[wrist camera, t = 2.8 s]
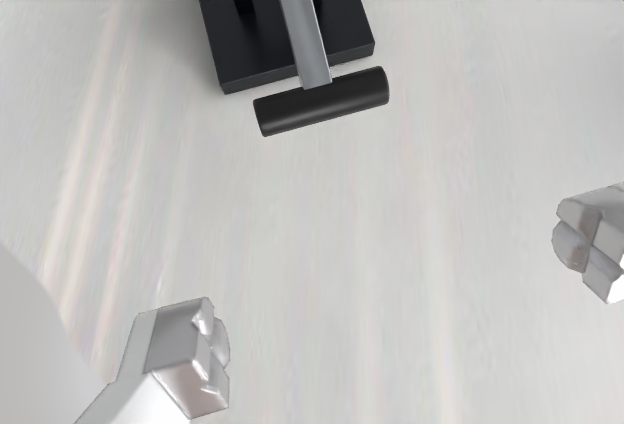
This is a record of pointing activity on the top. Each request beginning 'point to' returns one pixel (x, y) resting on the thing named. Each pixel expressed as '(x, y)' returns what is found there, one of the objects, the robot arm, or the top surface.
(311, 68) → the lever
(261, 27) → the bracket
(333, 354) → the top surface
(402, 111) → the top surface
